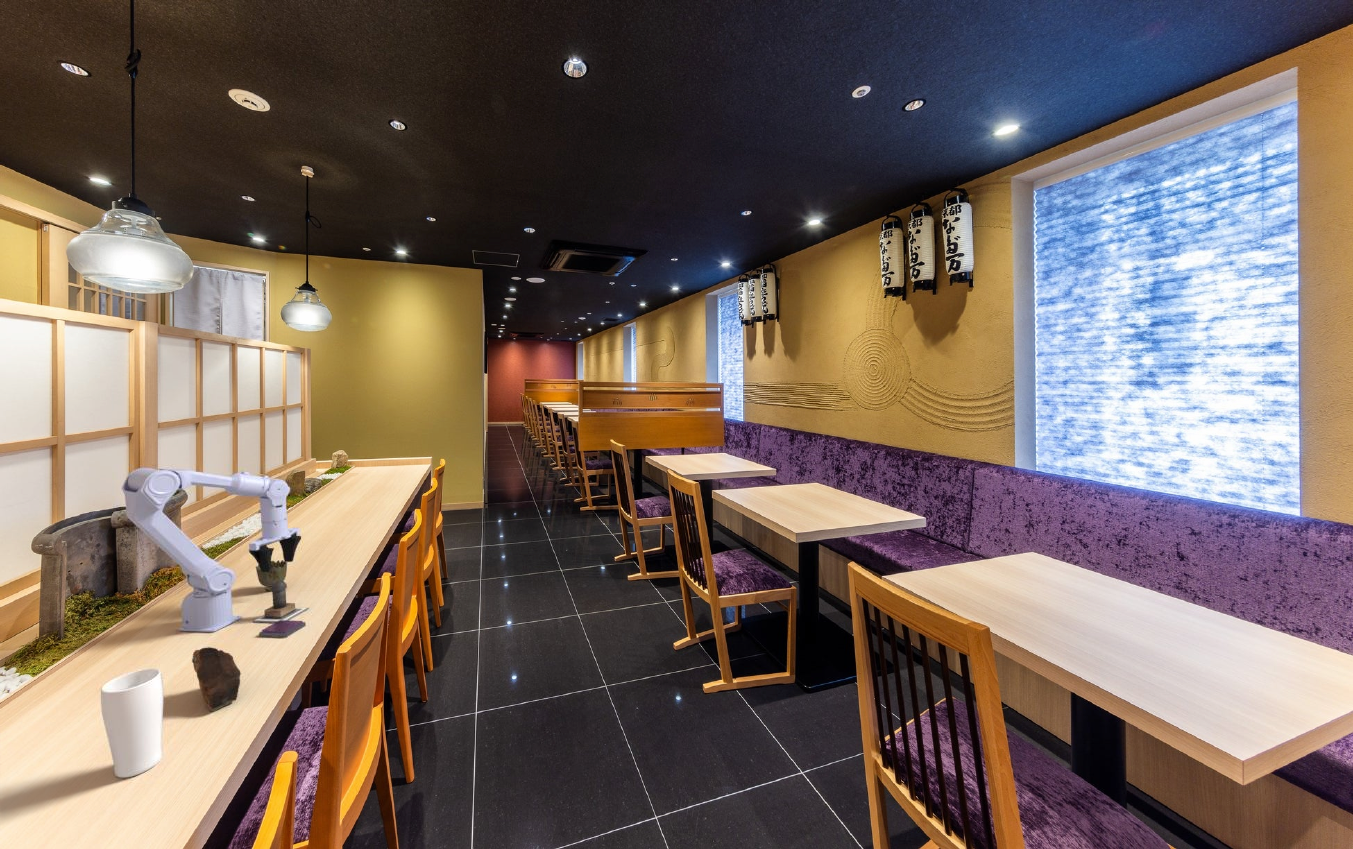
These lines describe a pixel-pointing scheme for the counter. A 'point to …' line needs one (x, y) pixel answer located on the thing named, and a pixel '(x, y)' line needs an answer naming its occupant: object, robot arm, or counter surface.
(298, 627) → the ink pad
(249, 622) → the counter surface
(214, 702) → the decorative rock
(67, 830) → the counter surface
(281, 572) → the cup
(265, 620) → the stamping board
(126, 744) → the white tumbler
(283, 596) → the wooden stamp
